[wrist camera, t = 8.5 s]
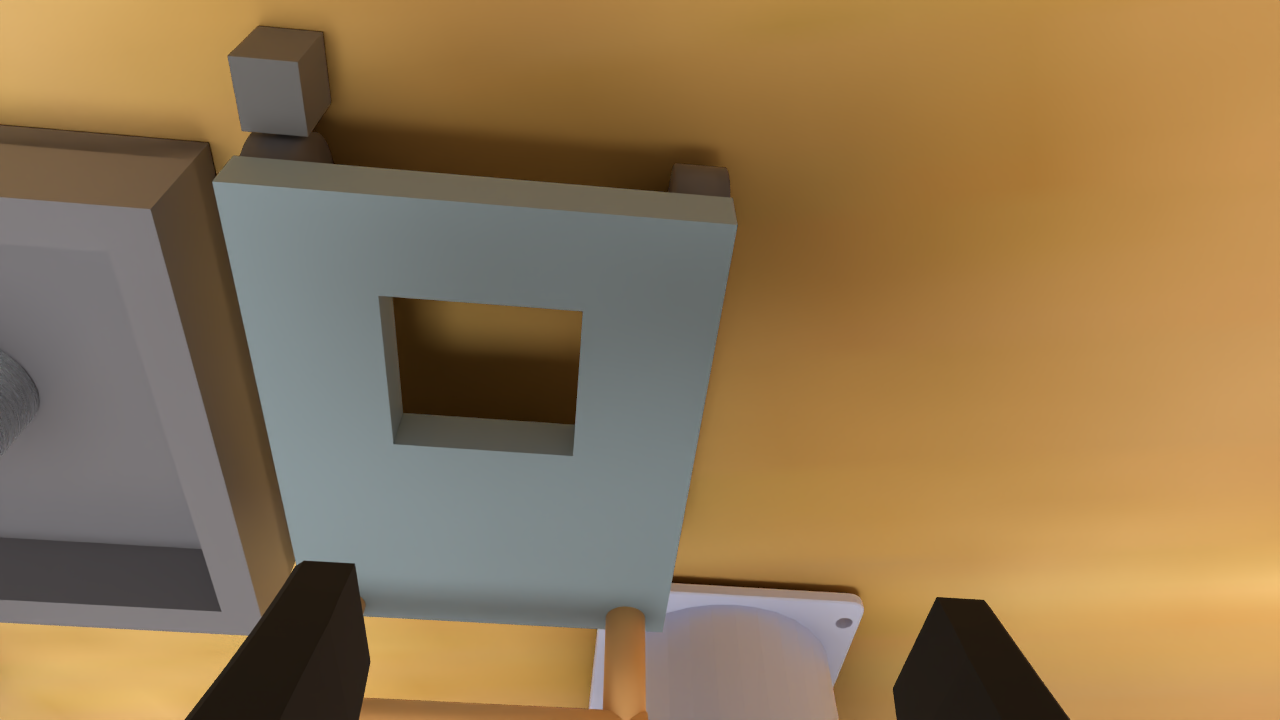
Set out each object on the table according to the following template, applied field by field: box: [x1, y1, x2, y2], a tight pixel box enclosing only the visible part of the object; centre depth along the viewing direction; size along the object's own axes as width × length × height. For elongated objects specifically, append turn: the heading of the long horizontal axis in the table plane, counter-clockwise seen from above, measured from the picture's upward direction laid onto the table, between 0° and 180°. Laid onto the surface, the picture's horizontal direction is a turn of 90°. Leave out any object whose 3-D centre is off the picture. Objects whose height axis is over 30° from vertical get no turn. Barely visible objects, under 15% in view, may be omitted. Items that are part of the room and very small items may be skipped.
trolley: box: [212, 26, 738, 720], centre depth 19 cm, size 14×9×7 cm
